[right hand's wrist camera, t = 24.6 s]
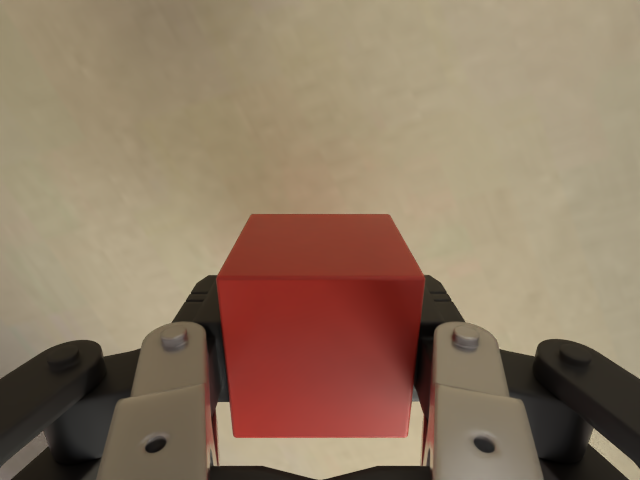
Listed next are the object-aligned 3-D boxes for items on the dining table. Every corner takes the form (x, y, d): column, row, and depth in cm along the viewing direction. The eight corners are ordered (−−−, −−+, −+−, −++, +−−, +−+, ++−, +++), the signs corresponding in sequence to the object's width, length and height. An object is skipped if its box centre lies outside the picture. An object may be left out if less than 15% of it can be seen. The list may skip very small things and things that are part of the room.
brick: (250, 213, 12) (214, 277, 8) (390, 213, 12) (426, 277, 8) (258, 334, 13) (232, 439, 9) (381, 334, 13) (408, 439, 9)
